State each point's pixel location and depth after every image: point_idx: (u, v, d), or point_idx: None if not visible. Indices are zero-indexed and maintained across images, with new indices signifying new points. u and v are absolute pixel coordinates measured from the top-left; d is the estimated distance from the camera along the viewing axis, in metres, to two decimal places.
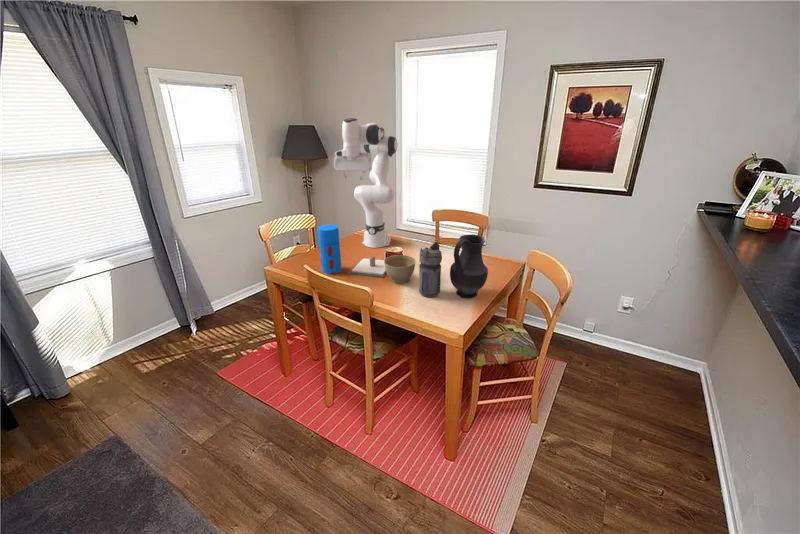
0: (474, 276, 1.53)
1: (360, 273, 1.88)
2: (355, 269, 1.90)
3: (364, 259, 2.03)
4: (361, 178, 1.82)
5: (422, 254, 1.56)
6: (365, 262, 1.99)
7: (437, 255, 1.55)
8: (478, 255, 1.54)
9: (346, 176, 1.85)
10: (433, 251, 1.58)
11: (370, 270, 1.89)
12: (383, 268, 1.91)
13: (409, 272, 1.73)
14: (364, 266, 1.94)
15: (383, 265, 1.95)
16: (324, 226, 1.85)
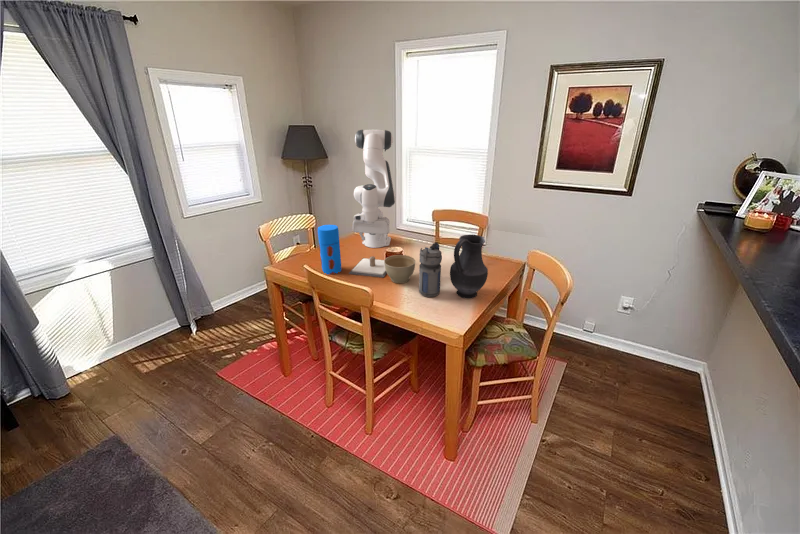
0: (474, 276, 1.53)
1: (360, 273, 1.88)
2: (355, 269, 1.90)
3: (364, 259, 2.03)
4: (379, 240, 1.87)
5: (422, 254, 1.56)
6: (365, 262, 1.99)
7: (437, 255, 1.55)
8: (478, 255, 1.54)
9: (364, 237, 1.89)
10: (433, 251, 1.58)
11: (370, 270, 1.89)
12: (383, 268, 1.91)
13: (409, 272, 1.73)
14: (364, 266, 1.94)
15: (383, 265, 1.95)
16: (324, 226, 1.85)
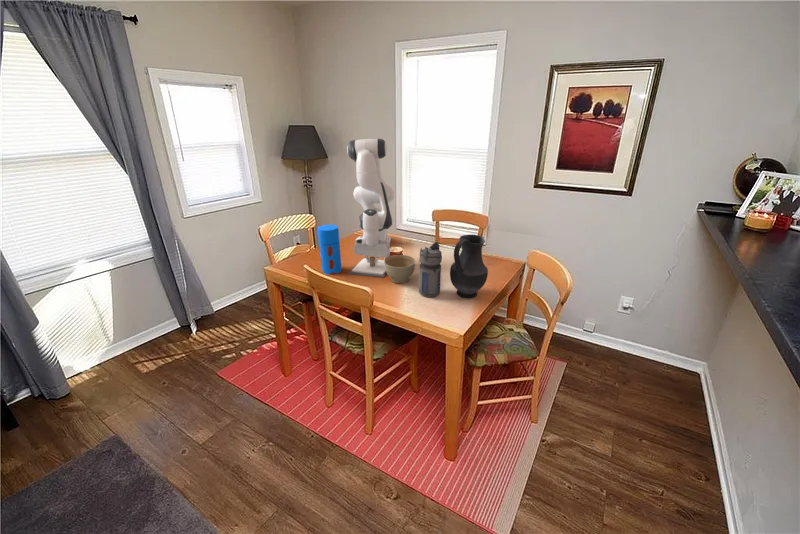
0: (474, 276, 1.53)
1: (360, 273, 1.88)
2: (355, 269, 1.90)
3: (364, 259, 2.03)
4: (375, 262, 1.93)
5: (422, 254, 1.56)
6: (365, 262, 1.99)
7: (437, 255, 1.55)
8: (478, 255, 1.54)
9: (369, 260, 1.94)
10: (433, 251, 1.58)
11: (370, 270, 1.89)
12: (383, 268, 1.91)
13: (409, 272, 1.73)
14: (364, 266, 1.94)
15: (383, 265, 1.95)
16: (324, 226, 1.85)
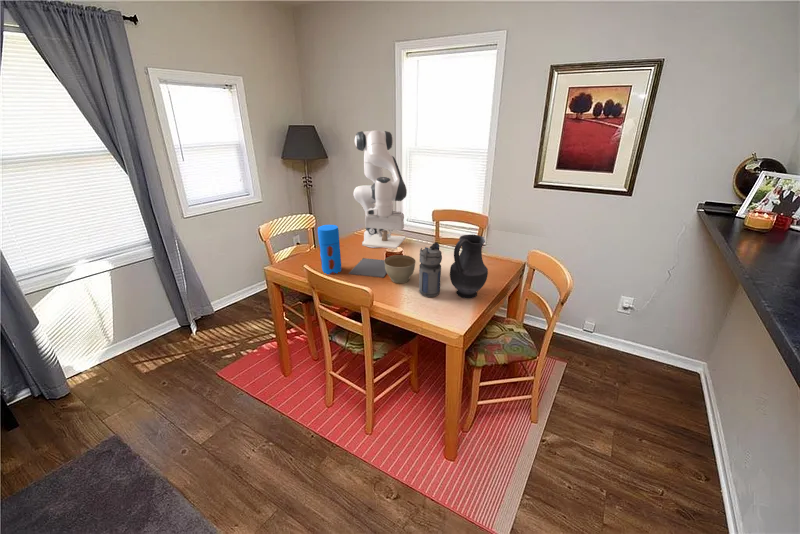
0: (474, 276, 1.53)
1: (360, 273, 1.88)
2: (366, 243, 1.75)
3: (375, 235, 1.88)
4: (388, 236, 1.78)
5: (422, 254, 1.56)
6: (376, 237, 1.84)
7: (437, 255, 1.55)
8: (478, 255, 1.54)
9: (381, 234, 1.79)
10: (433, 251, 1.58)
11: (382, 244, 1.73)
12: (396, 242, 1.76)
13: (409, 272, 1.73)
14: (375, 240, 1.79)
15: (396, 240, 1.80)
16: (324, 226, 1.85)
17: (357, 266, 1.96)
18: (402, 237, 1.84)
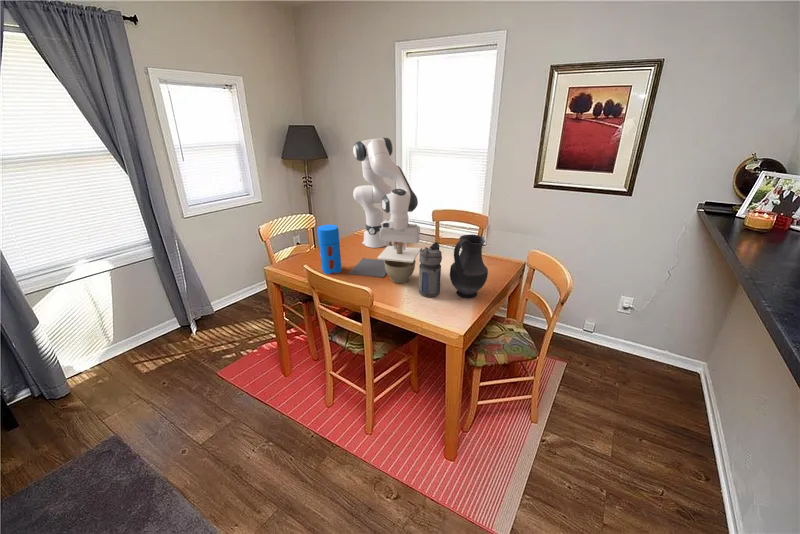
0: (474, 276, 1.53)
1: (360, 273, 1.88)
2: (381, 257, 1.70)
3: (389, 246, 1.83)
4: (403, 249, 1.73)
5: (422, 254, 1.56)
6: (390, 250, 1.79)
7: (437, 255, 1.55)
8: (478, 255, 1.54)
9: (396, 246, 1.74)
10: (433, 251, 1.58)
11: (398, 258, 1.69)
12: (412, 255, 1.71)
13: (409, 272, 1.73)
14: (390, 253, 1.74)
15: (411, 252, 1.75)
16: (324, 226, 1.85)
17: (357, 266, 1.96)
18: (417, 249, 1.79)
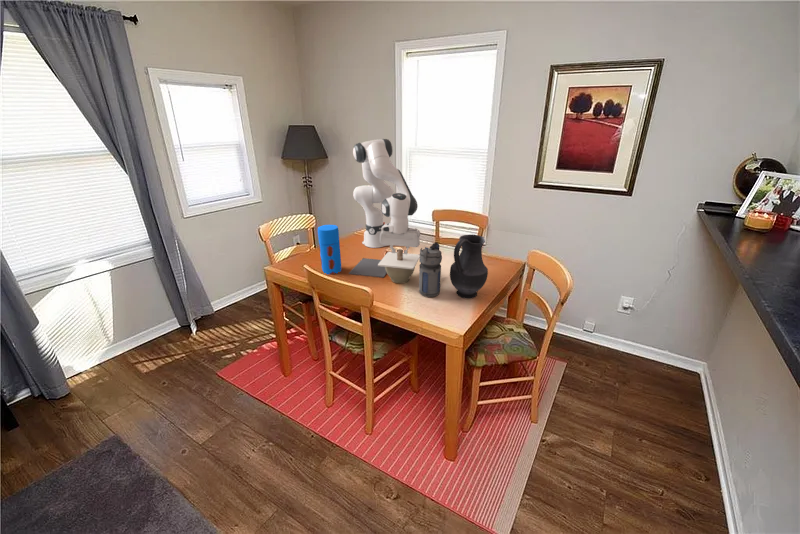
0: (474, 276, 1.53)
1: (360, 273, 1.88)
2: (381, 263, 1.72)
3: (389, 253, 1.85)
4: (405, 253, 1.74)
5: (422, 254, 1.56)
6: (391, 256, 1.80)
7: (437, 255, 1.55)
8: (478, 255, 1.54)
9: (395, 250, 1.75)
10: (433, 251, 1.58)
11: (398, 265, 1.70)
12: (412, 262, 1.73)
13: (409, 272, 1.73)
14: (391, 260, 1.76)
15: (411, 259, 1.77)
16: (324, 226, 1.85)
17: (357, 266, 1.96)
18: (417, 255, 1.81)
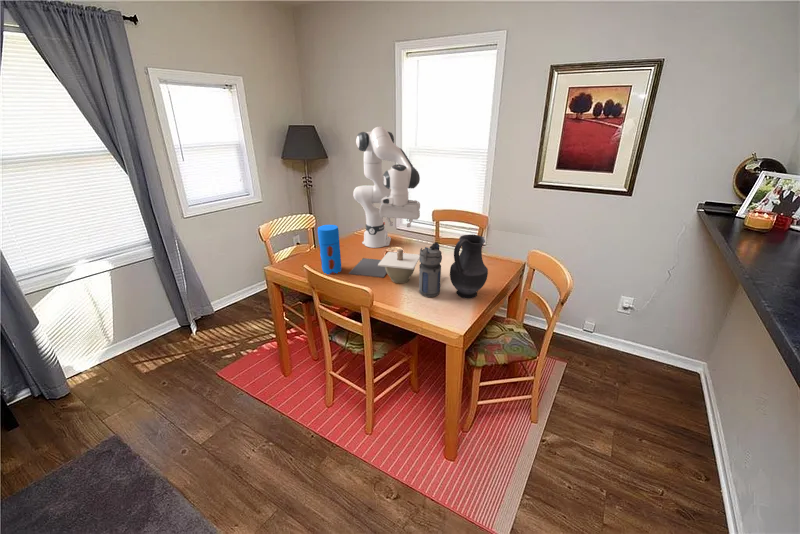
0: (474, 276, 1.53)
1: (360, 273, 1.88)
2: (381, 263, 1.72)
3: (389, 253, 1.85)
4: (408, 225, 1.73)
5: (422, 254, 1.56)
6: (391, 256, 1.80)
7: (437, 255, 1.55)
8: (478, 255, 1.54)
9: None
10: (433, 251, 1.58)
11: (398, 265, 1.70)
12: (412, 262, 1.73)
13: (409, 272, 1.73)
14: (391, 260, 1.76)
15: (412, 259, 1.77)
16: (324, 226, 1.85)
17: (357, 266, 1.96)
18: (417, 255, 1.81)
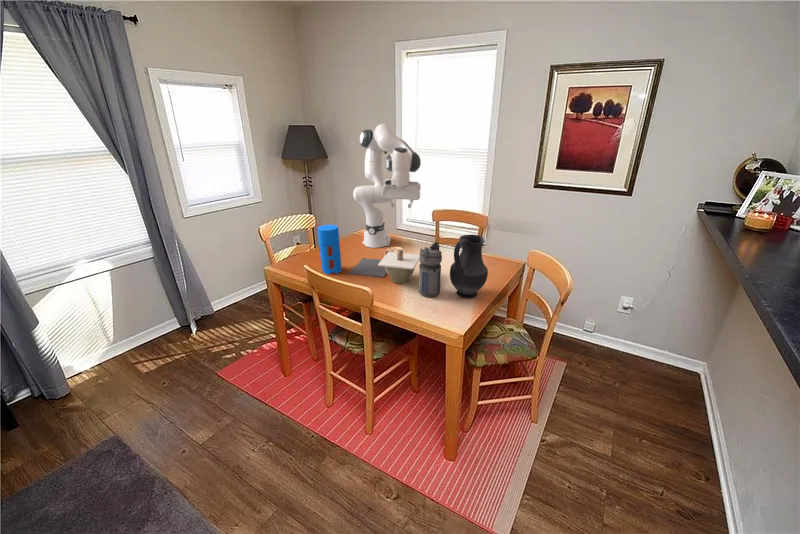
0: (474, 276, 1.53)
1: (360, 273, 1.88)
2: (381, 263, 1.72)
3: (389, 253, 1.85)
4: (409, 206, 1.82)
5: (422, 254, 1.56)
6: (391, 256, 1.80)
7: (437, 255, 1.55)
8: (478, 255, 1.54)
9: (393, 204, 1.85)
10: (433, 251, 1.58)
11: (398, 265, 1.70)
12: (412, 262, 1.73)
13: (409, 272, 1.73)
14: (391, 260, 1.76)
15: (412, 259, 1.77)
16: (324, 226, 1.85)
17: (357, 266, 1.96)
18: (417, 255, 1.81)
